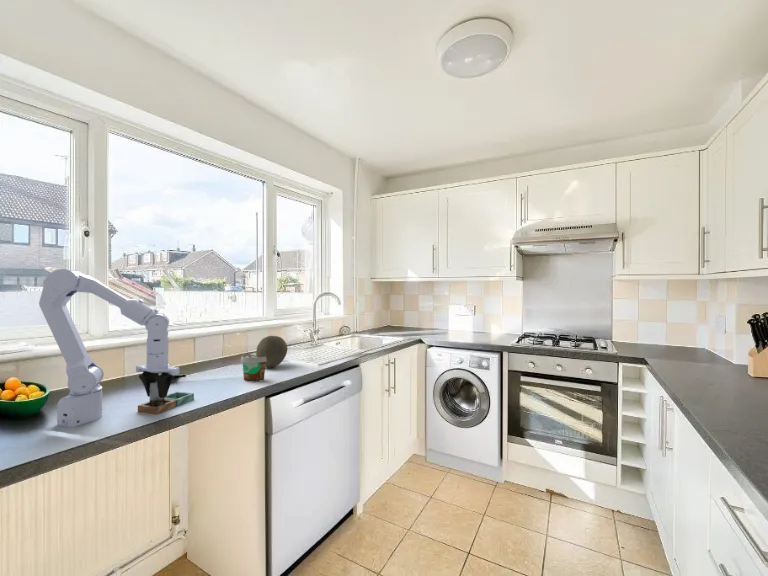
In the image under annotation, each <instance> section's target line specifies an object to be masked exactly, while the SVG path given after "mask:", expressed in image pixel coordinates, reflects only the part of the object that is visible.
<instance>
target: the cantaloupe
mask: <svg viewBox="0 0 768 576" xmlns="http://www.w3.org/2000/svg"><path fill="white" fill-rule="evenodd" d="M255 353H256V354H255V356H257V357H265V356H266V359H267V361H266V363H265V368H267V369H268V368H269V369H272V368H275V367H278V366H279V365H280V364H281V363H282V362H283V361H284V359H285V358H286V357H287V354H288V344H287V343H286V341H285V340H284V338H283V337H281V336H279V335H278V336H277V335H268V336H266V337H263V338H262V339H261V340H260V341H259V342H258V344H257V346H256V352H255Z"/></svg>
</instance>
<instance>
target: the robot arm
mask: <svg viewBox="0 0 768 576" xmlns="http://www.w3.org/2000/svg"><path fill="white" fill-rule="evenodd" d="M42 284H43V286H42V291H41V295H40V298H39V303H38V304H39V308H40V310H41V313H42V315H43V316H44V318H45V321H46V323H47V325H48V327H49V329H50V332H51V333H52V335H53V338H54V341H55V343H56V344H57V346H58V348H59V351H60V352H61V355H62V357H63V359H64V361H65V363H66V367H65V373H66V375H67V382H66V383H67V388H68V390H69V394H68V395H66V396H63V397H61V398H60V399H59V400H58V402H57V406H56V410H57V411H56V414H57V415H56V425H57V426H62V427H63V426H64V427H69V428H75V427H78V426H81V425H83V424H86V423H90V422H94V421H97V420H100V419H101V418H102V417H103V386H102V385H101V384H100V382H101V381H102V380H103V378H104V371H103V369H102V367H101V366H99V365H97V364H96V363H95V360H94V359H93V358H92V357H91V356H90V355H89V354H88V351H87V349H86V347H85V344H84V342H83V340H82V337H81V335H80V334H79V331H78V329H77V327H76V324H75V322H74V321H73V317H72V316H71V314H70V312H69V309H68V307H67V303H68V302H69V301H70V300H71V298H72V297H73V295H75V294H76V293H88V294H93V295H94V296H96V297H99V298H101V299H102V300H104V301H106V302H107V303H110V304H111V305H114V306H115V307H117V308H119V310H120V314H121V315H122V316H123V317H125V318H127V319H128V320H129V319H130V320H131V321H132V322H134V323H136V324H138V325H140V326H144V328H145V330H146V331H147V338H146V364H139V365H138V364H137V365H135V373H142V374H138V379H140V381H141V382H142V385H143V386H144V389H145V392H146V396H147V397H148V398H150V382H151V381H155V380H157V383H158V387H159V397H160V398H163V397H166V396H167V395H168V392H169V390H170V387H171V384H172V382H173V380H174V379H175V377H176V376H175V375H177V374H178V375H180V367H175V366H173V365H171V364H169V330H168V328H169V325H170V318H169V317H168V316H166V315H165V314H164V313H162V312H159V309H157V308H156V309H154V308H152V307H151V306H149V305H147V304H145V303H144V302H145V301H144V300H142V299H137V298H130V299H128V298H127V297H125V296H123V295H121V294H120V293H118V292H116V291H115V290H114V289H113V288H110V287H109V286H107V285H106V284H104V283H102V282H101V281H100V280H97V279H96V278H94V277H92V276H90V275H87V274H84V273H83V272H81V271H80V270H76V269H67V268H58V269H56V270H53V271H52V272H50V273H49V274H48V276H47V277H45V278H44V280H43V281H42ZM160 374H161V375H160Z"/></svg>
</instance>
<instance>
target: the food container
mask: <svg viewBox="0 0 768 576" xmlns="http://www.w3.org/2000/svg"><path fill="white" fill-rule="evenodd" d="M266 361H267V359H266V356H265V357H257V356H256V355H251V356H250V355H248V353H244V354H242V355H241V358H240V362H242V374H243V381H245V382H250V381H254V382H261V381H260V380H262V381H265V374H266V367H265V363H266Z"/></svg>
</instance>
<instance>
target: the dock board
mask: <svg viewBox="0 0 768 576" xmlns="http://www.w3.org/2000/svg"><path fill="white" fill-rule="evenodd" d="M193 400H195V394H194V392H183V391H175V392H171V393H169V394H168V393H167V396H166V397H165V404H163V405H160V406H158V407H155V406H149V401H147V402H144V403H141V404H138V405H137V412H136V414H143V415H151V416H156V415H159V414H162V413H163V412H167V411H169V410H171V409H174V408H176V407H179V406H181V405H184V404H186V403H189V402H191V401H193Z"/></svg>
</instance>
